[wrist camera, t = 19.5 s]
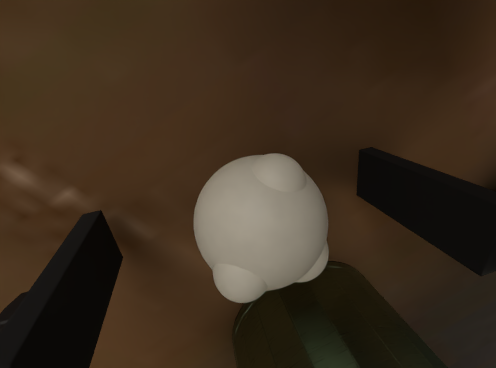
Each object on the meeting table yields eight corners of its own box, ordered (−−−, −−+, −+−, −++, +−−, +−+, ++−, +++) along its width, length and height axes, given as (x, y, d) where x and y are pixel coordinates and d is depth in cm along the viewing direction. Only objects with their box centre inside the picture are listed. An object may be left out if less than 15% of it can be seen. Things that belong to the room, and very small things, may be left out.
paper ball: (167, 178, 12) (158, 256, 7) (266, 118, 12) (331, 150, 7) (226, 253, 14) (252, 349, 9) (307, 204, 15) (376, 273, 9)
